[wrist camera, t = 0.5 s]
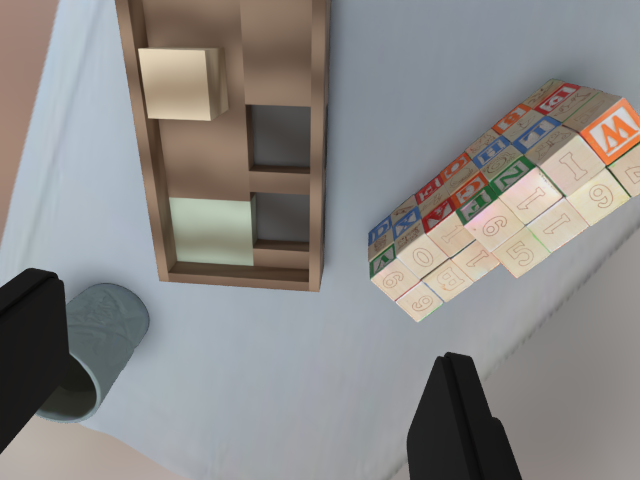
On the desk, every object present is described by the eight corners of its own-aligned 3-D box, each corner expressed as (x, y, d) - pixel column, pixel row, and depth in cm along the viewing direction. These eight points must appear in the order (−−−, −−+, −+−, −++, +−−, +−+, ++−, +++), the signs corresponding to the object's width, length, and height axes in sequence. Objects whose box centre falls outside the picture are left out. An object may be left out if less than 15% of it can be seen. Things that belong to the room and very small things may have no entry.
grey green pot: (133, 359, 56) (78, 438, 46) (59, 317, 55) (-17, 389, 44) (168, 306, 52) (117, 379, 41) (89, 259, 50) (14, 323, 40)
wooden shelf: (141, -15, 38) (111, -20, 33) (331, -12, 37) (326, -17, 32) (178, 257, 49) (159, 281, 45) (323, 266, 48) (319, 292, 43)
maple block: (165, 45, 37) (138, 48, 33) (224, 47, 37) (204, 50, 32) (173, 107, 40) (148, 118, 35) (228, 109, 39) (210, 120, 35)
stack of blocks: (407, 271, 47) (420, 346, 36) (366, 232, 46) (366, 298, 35) (594, 128, 39) (682, 168, 28) (552, 75, 38) (627, 95, 27)
